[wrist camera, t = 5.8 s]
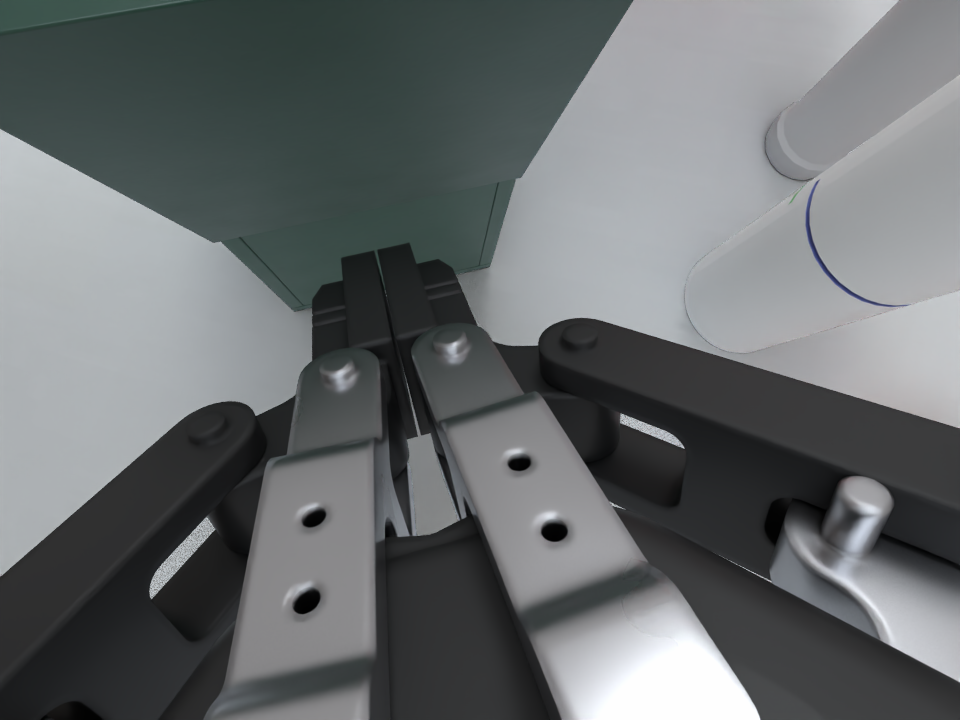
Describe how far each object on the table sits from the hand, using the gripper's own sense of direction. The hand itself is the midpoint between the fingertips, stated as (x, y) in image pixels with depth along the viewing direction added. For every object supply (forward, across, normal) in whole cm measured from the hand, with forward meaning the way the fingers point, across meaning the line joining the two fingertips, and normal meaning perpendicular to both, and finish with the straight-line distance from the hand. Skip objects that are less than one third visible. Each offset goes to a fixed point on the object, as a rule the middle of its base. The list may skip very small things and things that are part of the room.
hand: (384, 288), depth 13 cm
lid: (+6, 0, -2) cm, 6 cm away
